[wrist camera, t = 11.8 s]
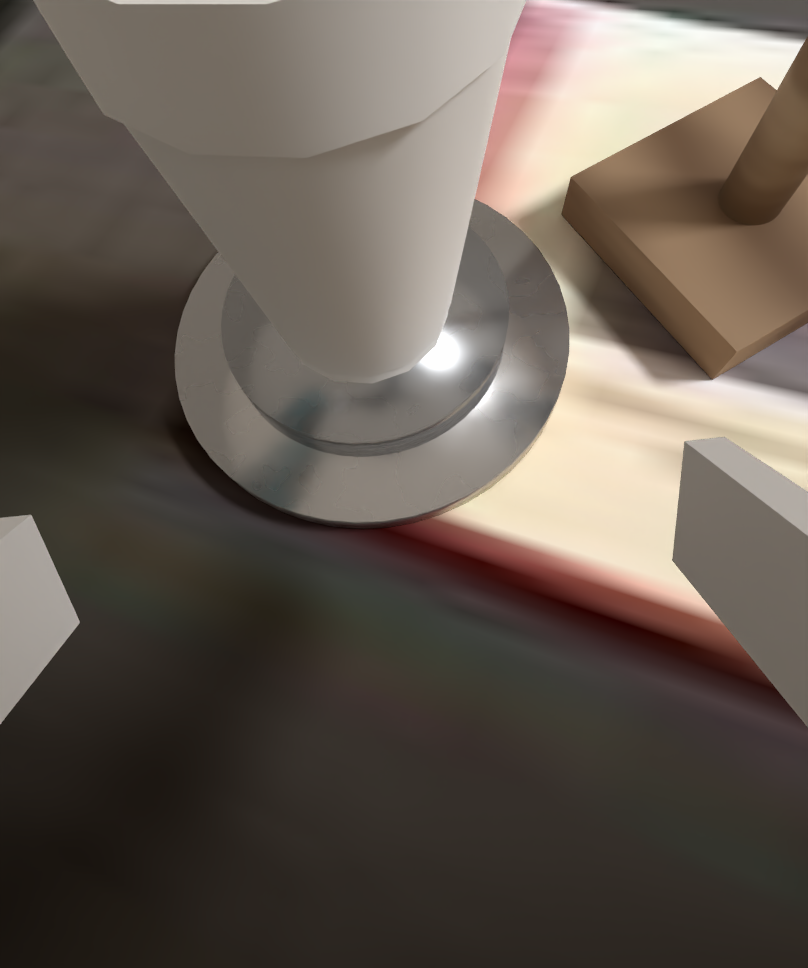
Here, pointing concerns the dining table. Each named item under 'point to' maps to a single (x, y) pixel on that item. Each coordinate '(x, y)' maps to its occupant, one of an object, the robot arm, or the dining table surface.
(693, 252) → the stand
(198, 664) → the dining table surface
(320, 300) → the foam cup
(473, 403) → the grey plate
